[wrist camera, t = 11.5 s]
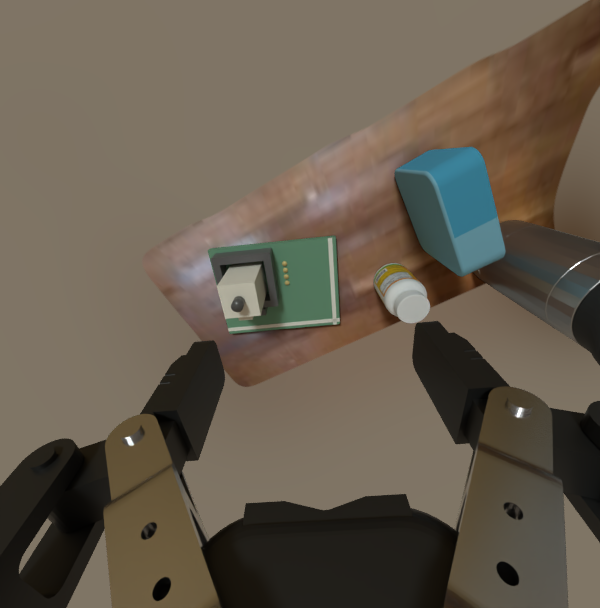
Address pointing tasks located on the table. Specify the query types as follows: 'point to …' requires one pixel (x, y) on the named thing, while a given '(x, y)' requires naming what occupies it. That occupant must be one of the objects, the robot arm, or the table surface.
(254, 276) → the plug
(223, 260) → the frame
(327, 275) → the header board
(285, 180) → the table surface
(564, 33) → the table surface
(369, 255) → the table surface
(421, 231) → the data package
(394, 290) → the supplement bottle
